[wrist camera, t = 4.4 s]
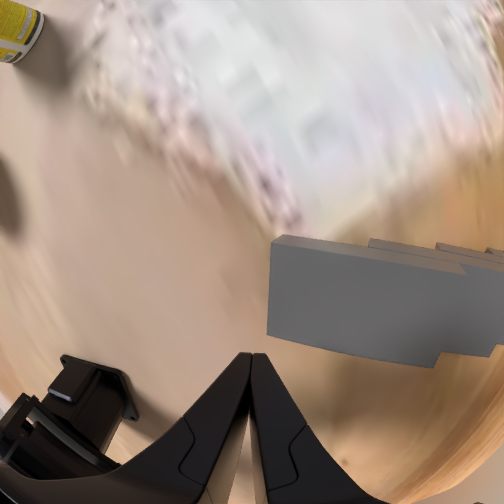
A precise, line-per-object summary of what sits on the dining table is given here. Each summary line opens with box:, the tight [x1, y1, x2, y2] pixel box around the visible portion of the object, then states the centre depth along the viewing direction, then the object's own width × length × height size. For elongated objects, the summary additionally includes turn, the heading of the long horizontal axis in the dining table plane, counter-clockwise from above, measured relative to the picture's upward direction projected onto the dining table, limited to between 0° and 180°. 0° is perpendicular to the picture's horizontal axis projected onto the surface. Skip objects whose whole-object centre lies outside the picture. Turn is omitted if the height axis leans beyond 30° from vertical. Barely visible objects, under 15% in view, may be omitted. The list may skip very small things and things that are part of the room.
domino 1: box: [267, 235, 468, 368], centre depth 12 cm, size 2×5×9 cm
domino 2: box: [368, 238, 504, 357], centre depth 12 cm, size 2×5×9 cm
